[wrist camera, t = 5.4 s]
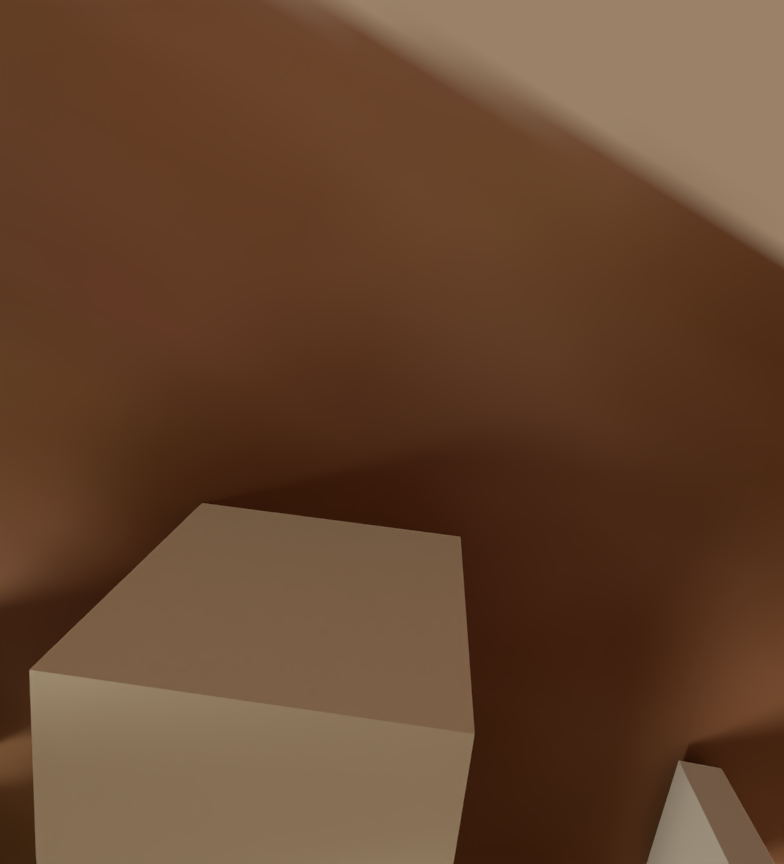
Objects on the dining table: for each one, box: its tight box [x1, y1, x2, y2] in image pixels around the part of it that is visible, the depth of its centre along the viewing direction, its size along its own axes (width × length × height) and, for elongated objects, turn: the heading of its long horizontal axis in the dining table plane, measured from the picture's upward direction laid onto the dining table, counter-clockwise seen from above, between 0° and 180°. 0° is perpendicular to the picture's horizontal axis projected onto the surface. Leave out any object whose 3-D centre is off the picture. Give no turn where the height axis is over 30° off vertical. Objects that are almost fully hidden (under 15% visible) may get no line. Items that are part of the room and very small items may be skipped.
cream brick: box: [29, 503, 475, 864], centre depth 10 cm, size 9×4×5 cm, turn 174°
